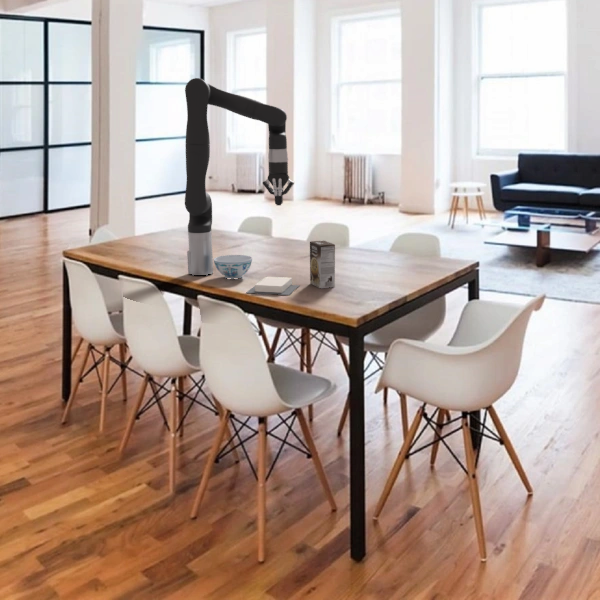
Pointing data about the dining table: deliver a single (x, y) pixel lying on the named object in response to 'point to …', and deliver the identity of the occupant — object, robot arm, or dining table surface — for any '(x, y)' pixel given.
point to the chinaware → (233, 265)
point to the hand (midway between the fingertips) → (278, 205)
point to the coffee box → (322, 264)
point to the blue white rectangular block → (273, 284)
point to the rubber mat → (286, 292)
